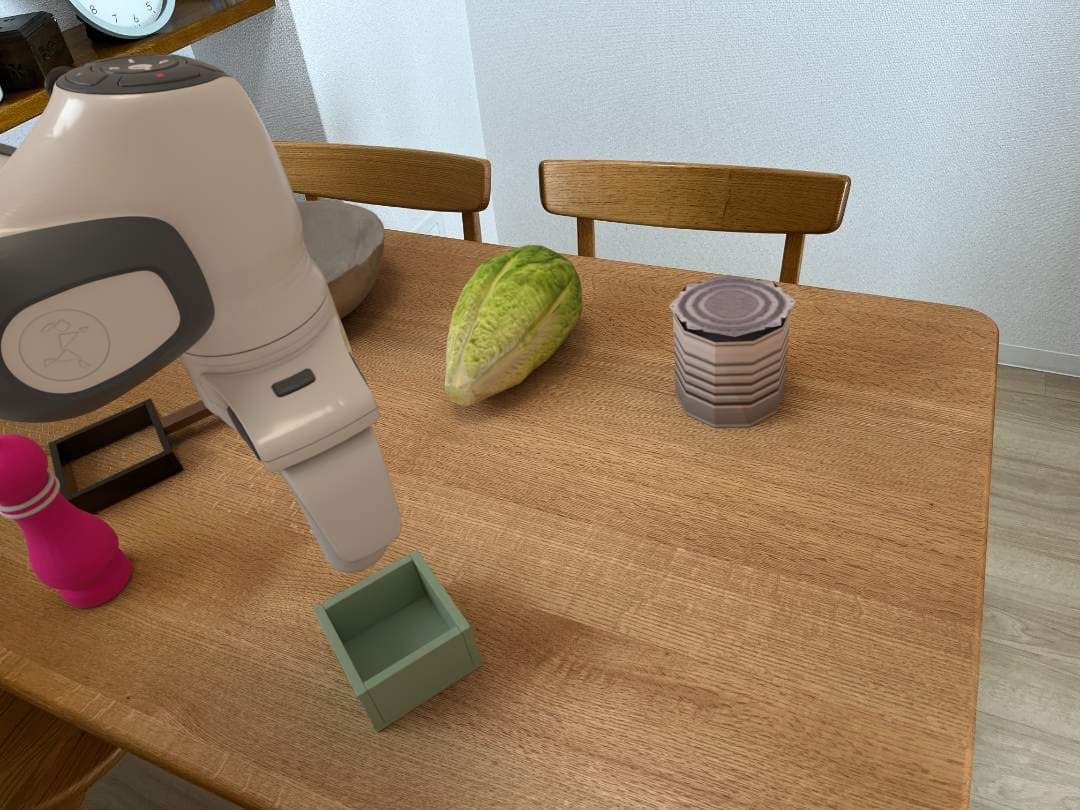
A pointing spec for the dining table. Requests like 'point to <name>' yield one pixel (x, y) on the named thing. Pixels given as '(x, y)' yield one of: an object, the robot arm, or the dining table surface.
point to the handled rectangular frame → (114, 430)
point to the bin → (398, 638)
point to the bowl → (343, 248)
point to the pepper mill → (59, 529)
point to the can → (731, 349)
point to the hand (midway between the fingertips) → (339, 508)
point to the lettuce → (509, 321)
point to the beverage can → (331, 554)
